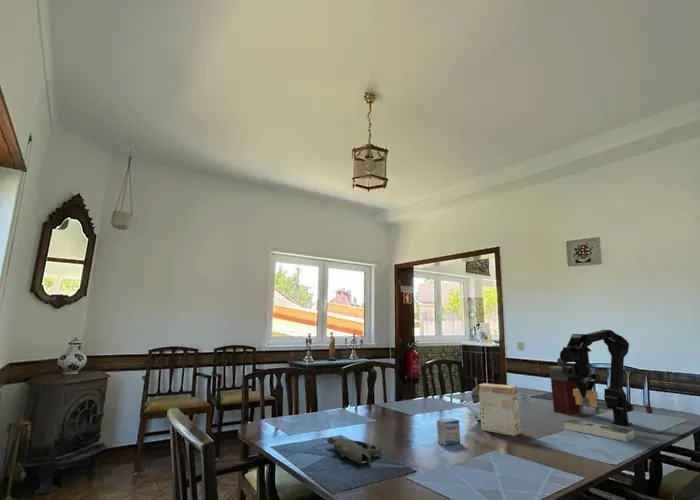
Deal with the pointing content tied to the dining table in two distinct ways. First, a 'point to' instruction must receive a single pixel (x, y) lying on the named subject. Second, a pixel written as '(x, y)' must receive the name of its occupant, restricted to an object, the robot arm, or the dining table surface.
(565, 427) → the rail
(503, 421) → the coffeecake box
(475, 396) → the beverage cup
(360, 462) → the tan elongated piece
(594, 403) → the tan stepped block
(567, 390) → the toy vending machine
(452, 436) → the medicine box
